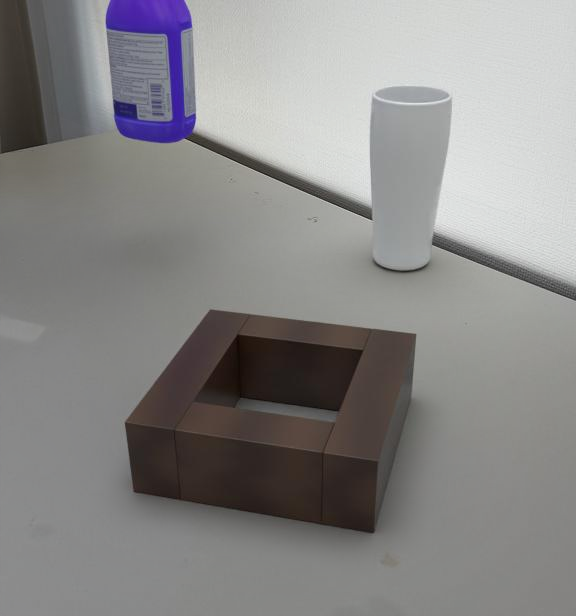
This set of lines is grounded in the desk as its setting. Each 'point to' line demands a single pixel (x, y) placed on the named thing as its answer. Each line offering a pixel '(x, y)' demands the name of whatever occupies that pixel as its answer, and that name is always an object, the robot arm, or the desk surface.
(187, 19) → the bottle
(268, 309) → the desk surface
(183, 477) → the frame
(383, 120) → the drinking glass
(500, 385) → the desk surface
